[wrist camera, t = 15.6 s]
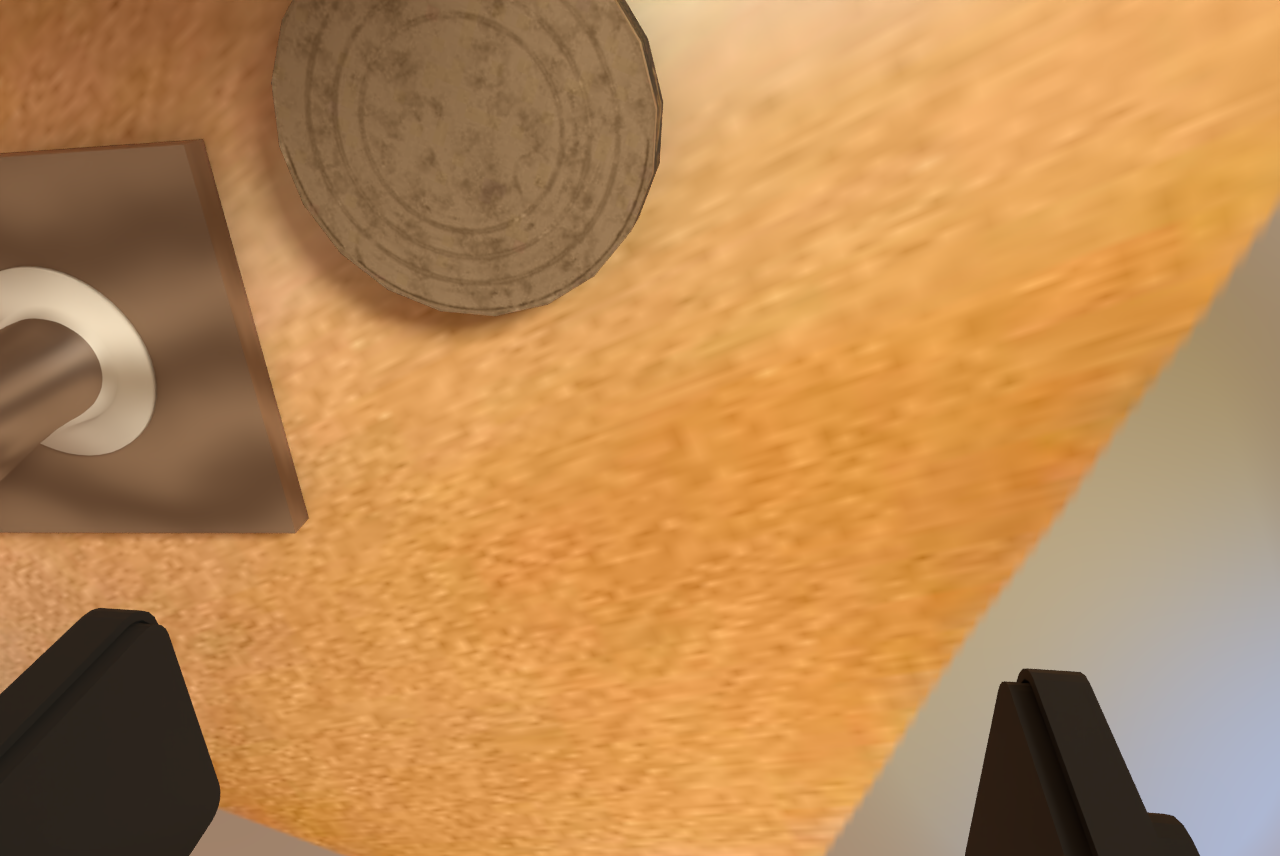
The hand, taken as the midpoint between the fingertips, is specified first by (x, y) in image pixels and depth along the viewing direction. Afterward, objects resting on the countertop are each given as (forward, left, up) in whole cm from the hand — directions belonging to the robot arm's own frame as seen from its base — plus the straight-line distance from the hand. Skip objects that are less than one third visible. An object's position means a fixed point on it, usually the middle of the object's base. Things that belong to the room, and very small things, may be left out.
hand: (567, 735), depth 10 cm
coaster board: (+7, -33, -32) cm, 46 cm away
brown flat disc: (-3, -10, -32) cm, 34 cm away
